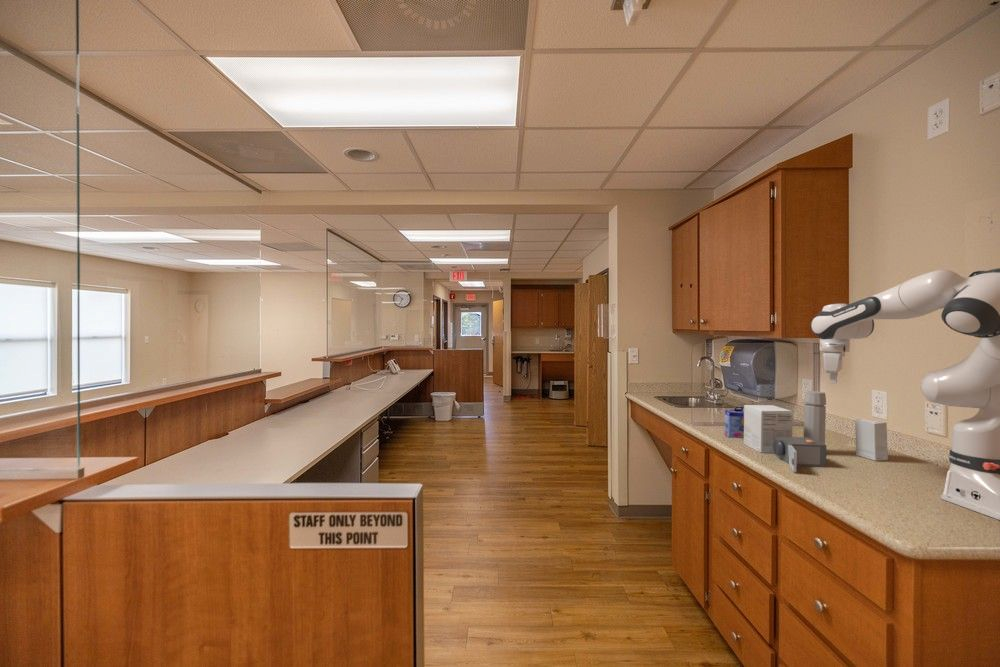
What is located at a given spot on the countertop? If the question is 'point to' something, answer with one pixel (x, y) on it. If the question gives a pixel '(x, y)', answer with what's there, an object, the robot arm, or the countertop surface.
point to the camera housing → (801, 450)
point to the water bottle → (815, 415)
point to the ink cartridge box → (734, 422)
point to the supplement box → (766, 426)
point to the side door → (792, 457)
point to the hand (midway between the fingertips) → (833, 383)
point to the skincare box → (871, 439)
